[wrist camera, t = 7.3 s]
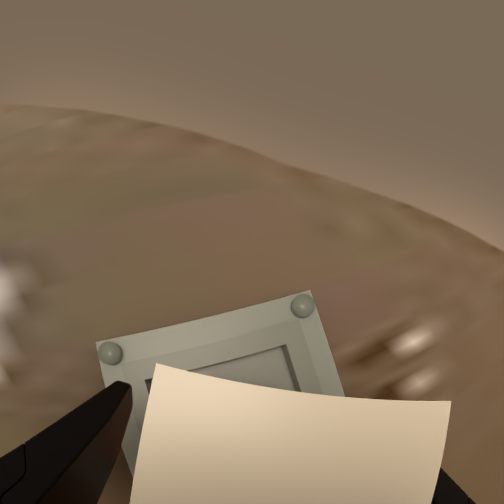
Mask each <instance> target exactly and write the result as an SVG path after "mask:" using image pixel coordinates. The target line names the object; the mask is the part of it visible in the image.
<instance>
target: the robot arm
mask: <svg viewBox="0 0 504 504" xmlns="http://www.w3.org/2000/svg"><path fill="white" fill-rule="evenodd" d="M132 408H133V395H132V386H131V384H129V383H126V382H123V381H119V380H118V381H115V382H114V383H112V384H111V385H109V386H108V387H106V388H105V389H103V390H102V391H101V392H99V393H98V394H96V395H95V396H93V397H92V398H90V399H89V400H87V401H86V402H84V403H83V404H82V405H80V406H79V407H77V408H76V409H74V410H73V411H71V412H70V413H68V414H67V415H65V416H64V417H62V418H61V419H59V420H58V421H56V422H55V423H53V424H52V425H50V426H49V427H47V428H46V429H44V430H43V431H41V432H40V433H38V434H37V435H35V436H34V437H32V438H31V439H29V440H28V441H26V442H25V445H24V444H21V445H20V446H18V447H17V448H15V449H14V450H12V451H10V452H9V453H7V454H5V455H4V456H2V457H0V504H97V502H98V500H99V498H100V495H101V493H102V491H103V489H104V486H105V484H106V482H107V479H108V477H109V475H110V473H111V470H112V468H113V466H114V464H115V461H116V459H117V456H118V454H119V451H120V448H121V444H122V441H123V438H124V434H125V431H126V428H127V424H128V421H129V418H130V415H131V412H132ZM431 504H476V503H475V502H474V501H473V500H472V499H471V498H468V495H467V494H466V493H465V492H464V491H463V490H462V489H461V488H460V487H459V486H458V485H457V484H456V483H455V482H454V481H453V480H452V479H451V478H450V477H449V476H448V475H447V474H446V473H445V472H444V470H443V469H442V468H441V467H440V470H439V475H438V479H437V483H436V487H435V491H434V494H433V498H432V502H431Z"/></svg>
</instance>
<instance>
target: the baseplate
mask: <svg viewBox="0 0 504 504" xmlns="http://www.w3.org/2000/svg"><path fill="white" fill-rule="evenodd" d="M96 346H97V351H98V357H99V361H100V366H101V371H102V375H103V380H104V384H105V388H106V387H108V386H109V385H111V384H112V383H114V382H115V381H118V380H119V381H123V382H126V383H129V384H131V386H132V395H133V408H132V412H131V415H130V418H129V421H128V424H127V428H126V431H125V434H124V438H123V441H122V444H121V445H122V448H123V452H124V455H125V458H126V460H127V463H128V466H129V469H130V472H131V475H132V477H133V479H134V472H135V466H136V461H137V455H138V449H139V444H140V438H141V433H142V428H143V423H144V418H145V413H146V408H147V403H148V398H149V393H150V389H151V384H152V380H153V375H154V371H155V366H156V363H158V364H162V365H165V366H169V367H173V368H177V369H181V370H185V371H189V372H194V373H198V374H202V375H207V376H211V377H216V378H221V379H226V380H231V381H236V382H241V383H246V384H252V385H258V386H264V387H270V388H276V389H282V390H289V391H296V392H304V393H312V394H320V395H329V396H339V397H345V394H344V391H343V388H342V385H341V382H340V378H339V375H338V372H337V369H336V366H335V363H334V360H333V357H332V353H331V350H330V347H329V344H328V341H327V338H326V335H325V332H324V329H323V326H322V323H321V320H320V317H319V314H318V312H317V309H316V306H315V302H314V299H313V297H312V294H311V291H310V290H308V291H305V292H301V293H298V294H294V295H290V296H287V297H283V298H280V299H276V300H272V301H269V302H265V303H261V304H257V305H254V306H250V307H246V308H242V309H238V310H234V311H231V312H227V313H223V314H219V315H215V316H211V317H207V318H202V319H198V320H194V321H190V322H186V323H181V324H177V325H173V326H169V327H164V328H160V329H155V330H151V331H146V332H142V333H137V334H132V335H128V336H123V337H118V338H113V339H108V340H103V341H98V342H96Z"/></svg>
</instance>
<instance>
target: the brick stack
mask: <svg viewBox="0 0 504 504" xmlns="http://www.w3.org/2000/svg"><path fill="white" fill-rule="evenodd" d="M450 407H451V401H400V400H378V399H363V398H350V397H339V396H329V395H320V394H312V393H304V392H296V391H289V390H282V389H276V388H270V387H264V386H258V385H252V384H246V383H241V382H236V381H231V380H226V379H221V378H216V377H211V376H207V375H202V374H198V373H194V372H189V371H185V370H181V369H177V368H173V367H169V366H165V365H162V364H158V363H156V366H155V371H154V375H153V380H152V384H151V389H150V393H149V398H148V403H147V408H146V413H145V418H144V423H143V428H142V433H141V438H140V444H139V449H138V455H137V461H136V466H135V472H134V479H133V485H132V491H131V498H130V504H431V502H432V498H433V494H434V491H435V487H436V483H437V479H438V475H439V470H440V466H441V461H442V456H443V451H444V446H445V440H446V434H447V428H448V422H449V415H450Z"/></svg>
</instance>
